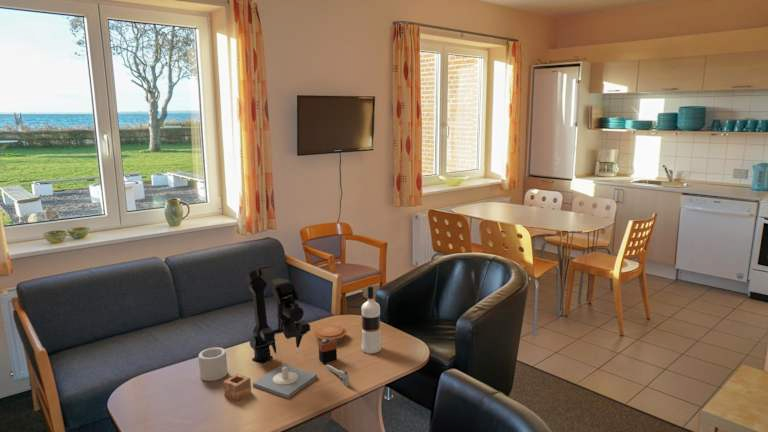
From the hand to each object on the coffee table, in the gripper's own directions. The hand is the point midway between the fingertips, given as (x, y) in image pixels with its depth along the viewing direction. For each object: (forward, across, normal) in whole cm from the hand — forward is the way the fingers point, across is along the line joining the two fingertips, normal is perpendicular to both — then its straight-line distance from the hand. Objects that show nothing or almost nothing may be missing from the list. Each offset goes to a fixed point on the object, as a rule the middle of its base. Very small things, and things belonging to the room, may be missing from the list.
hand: (286, 350), depth 207 cm
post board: (+14, -1, 0) cm, 14 cm away
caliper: (+14, +18, -6) cm, 24 cm away
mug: (+14, -25, +22) cm, 36 cm away
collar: (+14, -20, +1) cm, 24 cm away
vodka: (+14, +42, +7) cm, 45 cm away
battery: (+14, +21, +8) cm, 26 cm away
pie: (+14, +31, +27) cm, 43 cm away
